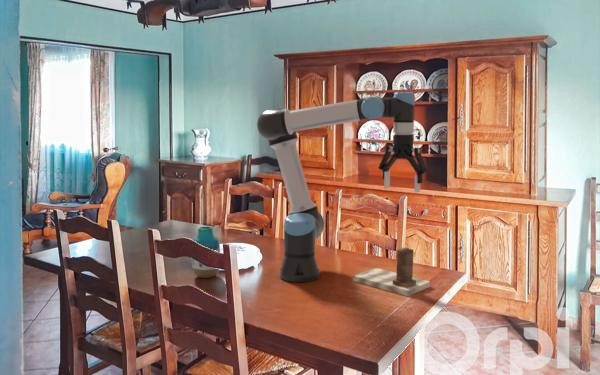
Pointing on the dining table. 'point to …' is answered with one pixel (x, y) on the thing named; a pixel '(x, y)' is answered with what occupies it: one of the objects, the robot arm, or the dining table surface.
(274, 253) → the dining table surface
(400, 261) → the brown pillar
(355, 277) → the board
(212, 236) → the vase
